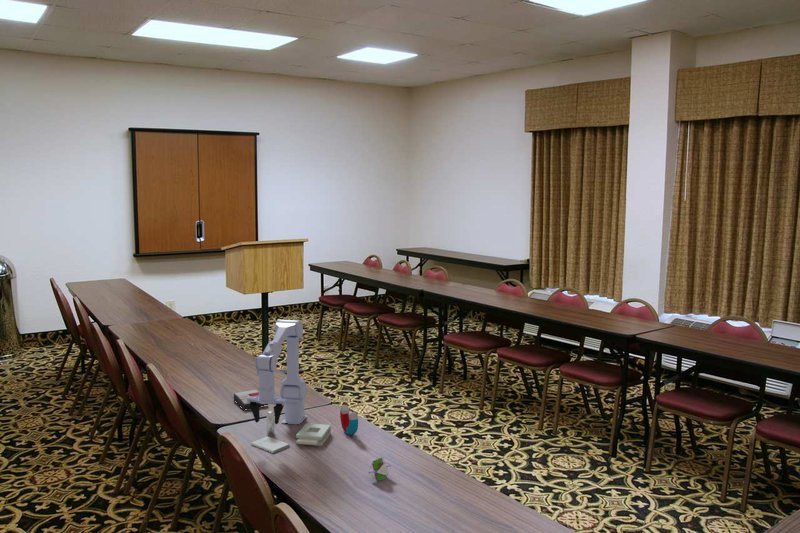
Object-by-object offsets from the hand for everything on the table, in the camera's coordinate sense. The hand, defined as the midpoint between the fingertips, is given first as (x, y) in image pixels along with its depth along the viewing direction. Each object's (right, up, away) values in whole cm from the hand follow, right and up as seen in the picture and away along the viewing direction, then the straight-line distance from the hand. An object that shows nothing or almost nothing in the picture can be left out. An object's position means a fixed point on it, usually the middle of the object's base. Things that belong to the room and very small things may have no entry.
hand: (267, 422), depth 231 cm
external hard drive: (0, -11, +4) cm, 11 cm away
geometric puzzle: (+42, -14, -22) cm, 49 cm away
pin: (-2, -8, +15) cm, 17 cm away
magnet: (+29, -9, +16) cm, 34 cm away
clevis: (+16, -9, +10) cm, 21 cm away
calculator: (-18, -4, +49) cm, 52 cm away
